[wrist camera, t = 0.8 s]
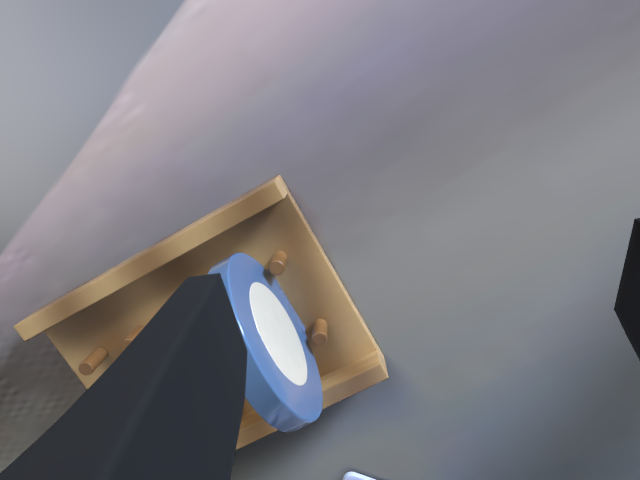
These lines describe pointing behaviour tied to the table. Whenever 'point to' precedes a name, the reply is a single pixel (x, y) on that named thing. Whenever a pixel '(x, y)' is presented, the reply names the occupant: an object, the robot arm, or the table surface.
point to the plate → (272, 346)
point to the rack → (196, 259)
